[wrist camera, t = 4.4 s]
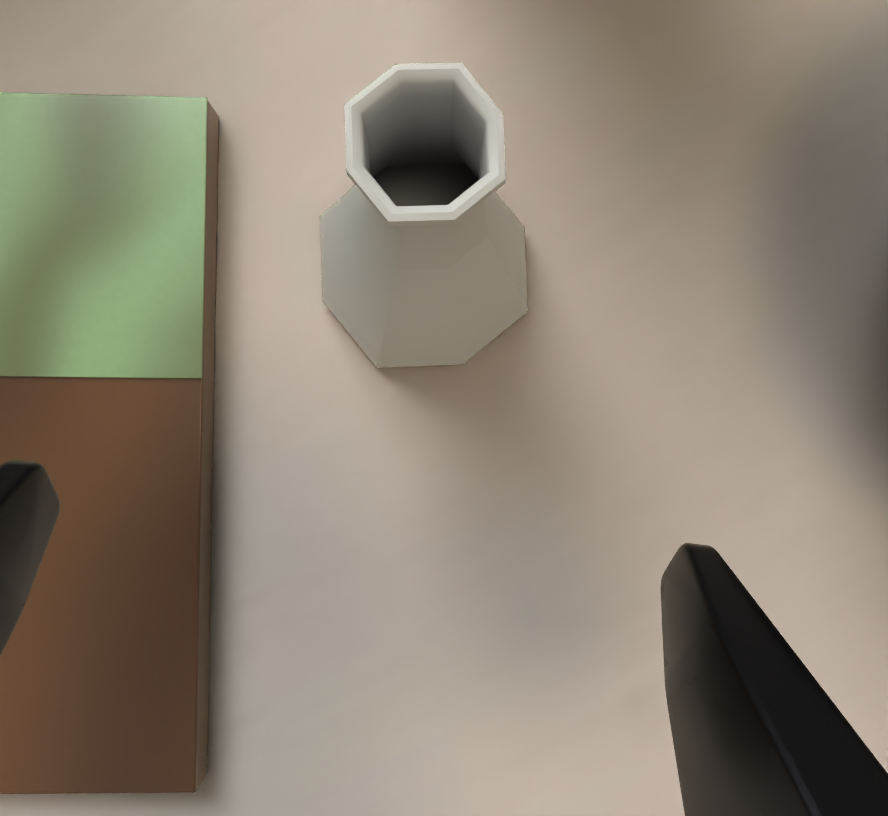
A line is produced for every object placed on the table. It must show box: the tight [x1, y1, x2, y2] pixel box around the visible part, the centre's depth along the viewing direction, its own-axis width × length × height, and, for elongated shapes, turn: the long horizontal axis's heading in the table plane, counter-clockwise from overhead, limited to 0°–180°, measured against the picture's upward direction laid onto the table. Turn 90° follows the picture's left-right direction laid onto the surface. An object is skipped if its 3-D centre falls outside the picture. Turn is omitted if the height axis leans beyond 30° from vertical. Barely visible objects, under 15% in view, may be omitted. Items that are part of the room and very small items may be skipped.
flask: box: [320, 63, 528, 368], centre depth 18 cm, size 7×7×10 cm
